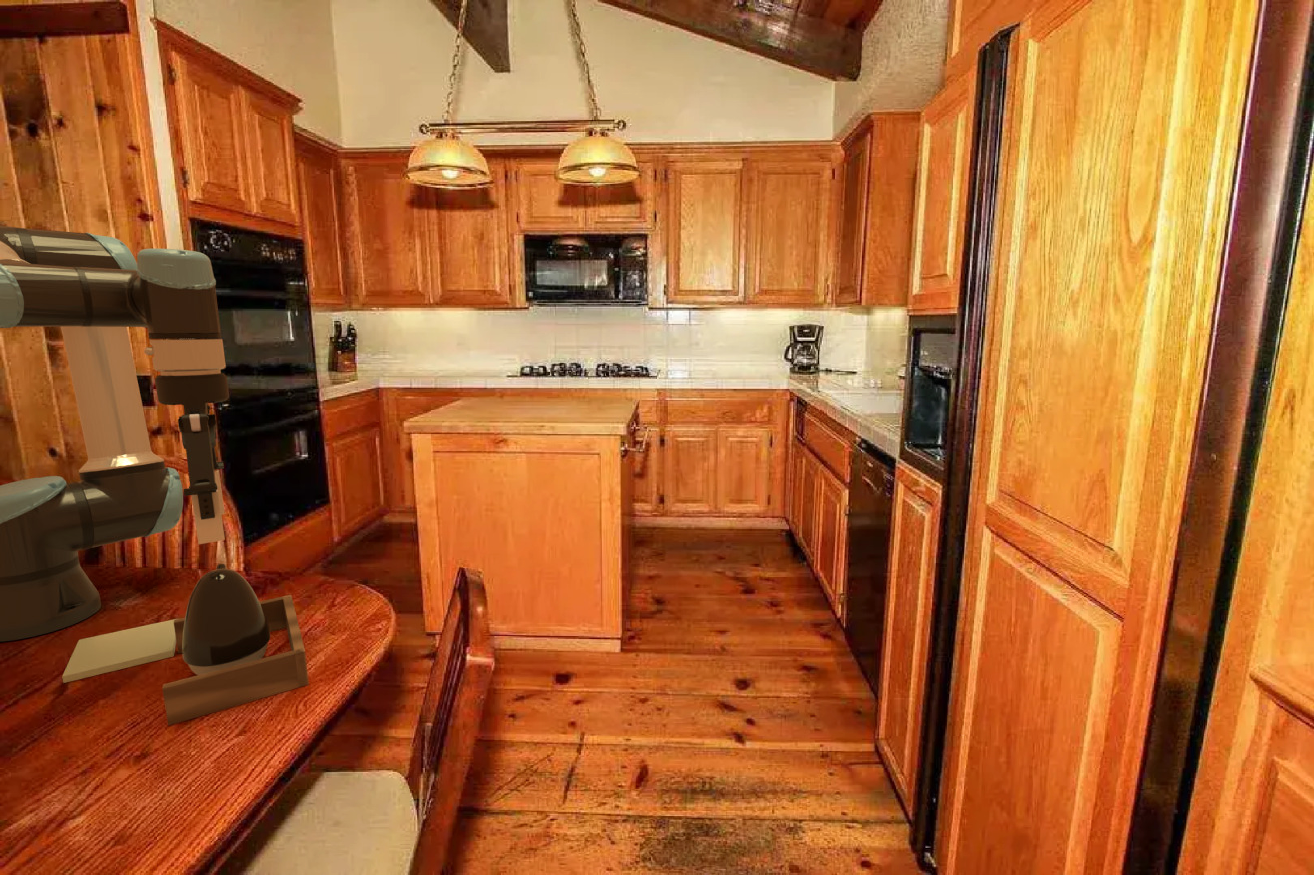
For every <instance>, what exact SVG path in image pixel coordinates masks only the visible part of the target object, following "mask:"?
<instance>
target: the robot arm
mask: <svg viewBox="0 0 1314 875" xmlns="http://www.w3.org/2000/svg"><path fill="white" fill-rule="evenodd" d="M216 285H217V280H216V278H215V276H214V271H213V266H212V262H211V259H210V257H209V256H207V255H206V254H205V253H202V252H200V251H194V250H187V249H178V248H176V249H175V248H144V249H140V250H139V251H138V253H137V256H136V258H135V256H134V255H133V253H132V251H131V249H130V248H129V247H128V246H127V245H126V244H125V243H124V242H123V241H122V240H120V239H118V238H116V237H113V236H109V235H108V236H104V235H99V234H92V233H91V232H90V233H89V232H73V231H60V230H48V229H35V228H25V227H14V226H7V225H6V226H5V225H0V328H1V329H10V328H15V327H16V328H17V327H18V328H21V327H22V328H25V327H27V328H31V327H33V328H34V327H35V328H36V327H37V328H39V327H41V328H42V327H46V328H47V327H49V328H50V327H60V328H61V333H62V338H63V343H64V344H63V345H64V348H65V353H66V359H67V364H68V367H69V372H70V378H71V381H72V388H73V393H74V397H75V401H76V407H77V412H78V416H79V421H80V425H81V429H82V430H81V431H82V436H83V440H84V445H85V450H86V454H87V461H86V462H85V463H84V464H83V465H82V466H81V467H80V469H78V475H79V481H76V482H69V483H67V480H65V478H63V477H62V476H58V475H49V476H48V475H47V476H42V477H33V478H28V479H21V480H17V481H13V482H9V483H3V484H2V485H0V642H10V641H11V642H12V641H17V640H23V639H27V638H33V637H36V636H42V635H44V634H49V633H51V632H55V631H58V630H62V629H65V628H68V627H70V626H73V625H75V624H77V623H80V622H81V621H84V620H86V619H88V618H90V617H91V616H93V615H95V614H96V613H97V612H99V611H100V609H101V607H102V601H101V597H100V596H101V595H100V593H99V591H98V590H97V588H96V587H95V585H94V583H93V582H92V581H91V579H90V578H89V577H88V575H87V574H86V572H85V571H84V570H83V568H82V567H81V565H80V558H79V551H83V550H87V549H92V548H97V547H102V546H106V545H110V544H115V543H119V542H124V541H129V540H132V539H139V538H142V537H144V538H148V537H150V536H153V535H155V534H159V533H165V532H167V531H169V530H172V529H174V528H175V527H176V526H177V525H178V523H179V521H180V519H181V516H182V513H183V506H184V496H185V497H186V496H187V497H188V496H191V502H192V503H191V504H192V508H193V515H194V522H195V529H196V537H197V543H198V545H203V544H208V543H214V542H222V541H225V538H226V537H225V531H224V524H223V518H222V517H223V516H222V515H225V506H224V499H223V492H222V491H223V490H222V485H221V476H220V475H221V474H220V470H221V469H224V467H225V465H224V461H219V459H218V458H219V457H218V456H217V451H216V446H217V431H216V430H217V428H218V425H217V415H216V413H215V414H213V413H212V414H210V413H211V412H210V411H211V406H210V404H217V403H222V402H225V401H227V400H228V399H229V398H230V394H229V392H230V391H229V384H228V377H227V375H226V374H225V373H223V372H222V371H221V370H223V369H226V368H227V365H226V359H225V358H226V357H225V350H224V341H223V339H222V334H221V324H220V318H219V317H220V316H219V315H220V314H219V309H218V308H219V307H218V300H217V299H218V298H217V291H216ZM128 328H144V329H145V328H147V332H148V333H147V335H148V340H149V345H151V347H150V346H148V347H145V348H144V349H143V350H144V354H145V355H147V356H153V357H152V359H151V360H152V366H153V370H154V371H156V372H160V375H156V377H155V378H154V383H155V389H156V390H155V391H156V397H157V402H158V403H159V404H161V405H164V406H165V405H166V406H178V405H179V406H182V407H183V414H181V415H180V416H178V419H177V426H178V431H179V432H180V433H181V441H182V443H181V444H182V447H183V449H184V450H185V451H186V452H185V453H186V461H187V463H186V464H187V470H188V471H187V472H188V480H189V481H188V482H189V486H188V488H187V487H186V488H183V484H182V481H181V478H180V477H181V476H180V474H179V472H178V471H177V469H175V468H174V467H166V463H165V459H164V458H162V457H160V456H159V455H157V454H155V453H154V452H153V451H152V448H151V442H150V437H149V432H148V431H149V430H148V426H147V424H146V423H147V422H146V417H145V413H144V406H143V401H142V397H141V396H142V395H141V393H140V392H141V391H140V386H139V383H138V376H137V372H136V366H135V360H134V356H133V350H132V345H131V341H130V336H129V330H128Z"/></svg>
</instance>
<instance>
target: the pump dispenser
mask: <svg viewBox="0 0 1314 875" xmlns="http://www.w3.org/2000/svg"><path fill="white" fill-rule="evenodd" d="M184 618H185V622H184V628H183V640H182V653H181V654H182V660H183V661H184V663H186V664H187V665H188V667H189V668H190V670H191V671H192V672H193V673H194V674H195V676H197V675H201V674H205V673H209V672H212V671H216V670H220V669H224V668H228V667H232V666H235V665H239V664H243V663H247V662H251V661H255V660H258V659H262V658H264V656H265V654H266V653H267V652H266V651H267V648H268V644H269V642H270V641H271V632H270V630H269V626H268V623H267V619H266V616H265V614H264V611H263V609H262V606H261V604H260V600H259V598H258V597H257V595H256V593H255V591H254V588H253V587H252V586H251V584H250V583H249V582H248V581H247V579H245V577H244V576H242V575H241V574H240V573H239V572H237V571H236V570H234V569H231V568H230V569H229V568H227V567H226V564H225V563H219V564H218V565H216V569H214V570H211V571H208V572H207V573H205V574H204V575H202V576H201V578H200V579H198V580H197V583H196V584H195V586H194V588H193V590H192V592H191V595H190V598H189V600H188V604H187V607H186V612H185V617H184Z"/></svg>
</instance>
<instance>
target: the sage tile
mask: <svg viewBox="0 0 1314 875" xmlns="http://www.w3.org/2000/svg"><path fill="white" fill-rule="evenodd" d="M176 619H177V618H174V619H169V620H165V621H161V622H154V623H151V624H150V623H149V624H145V625H142V626H136V627H133V628H127V629H123V630H117V631H114V632H108V633H104V634H100V635H99V634H98V635H95V636H91V637H86V638H81V639H79V640H78V641H77V643H76V646H75V648H74V650H73V652H72V654H71V655H70V656H71V657H70V659H69V661H68V663H67V665H66V666H65V670H64V672H63V674H62V676H61V678H62V682H63V684H64V683H65V684H66V683H70V682H73V681H78V680H81V679H86V678H90V677H94V676H98V675H103V674H106V673H110V672H116V671H118V670H122V669H123V670H124V669H126V668H133V667H136V666H140V665H143V664H148V663H151V662H156V661H160V660H165V659H168V658H172V657H174V656H175V651H176V647H177V642H176V635H175V629H174V620H176Z"/></svg>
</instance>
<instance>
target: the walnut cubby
mask: <svg viewBox="0 0 1314 875" xmlns="http://www.w3.org/2000/svg"><path fill="white" fill-rule="evenodd" d="M259 602H260V604H261V606H262V609H263V611H264V614H265V616H266V619H267V623H268V626H269V630H270V633H271V632H273V631H278V630H282V629H286V631H287V632H286V633H287V636H288V640H289V646H290V651H285V652H282V653H278V654H274V655H270V656H267V657H262V659H258V660H255V661H251V662H247V663H243V664H239V665H235V666H232V667H228V668H224V669H220V670H216V671H212V672H209V673H205V674H201V675H194V676H190V677H186V678H182V679H179V680H174V681H171V682H168V683H167V682H166V683H164V684H163V683H162V694H163V701H164V708H165V713H166V720H167V725H168V726H172V725H175V724H178V723H182V722H186V721H190V720H192V719H195V718H199V717H202V716H206V715H209V714H213V713H217V712H219V711H224V710H226V709H229V708H233V707H234V708H235V707H237V706H240V705H241V706H242V705H244V704H247V703H251V702H254V701H257V700H261V699H264V698H267V697H272V696H275V695H277V694H281V693H284V692H288V691H292V690H295V689H299V688H302V687H305V686H308V685H310V683H309V674H308V666H307V664H308V663H307V656H306V650H305V646H304V641H303V637H302V633H301V628H300V624H299V621H298V617H297V613H296V609H295V605H294V600H293V597H292V594H289V595H284V596H279V597H274V598H270V599H266V600H265V599H264V600H261V601H260V600H259ZM175 619H176V620H174V629H175V635H176V647H177V648H176V649H177V653H178V655H179V654H182V640H183V628H184V622H185V617H182V618H175Z"/></svg>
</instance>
